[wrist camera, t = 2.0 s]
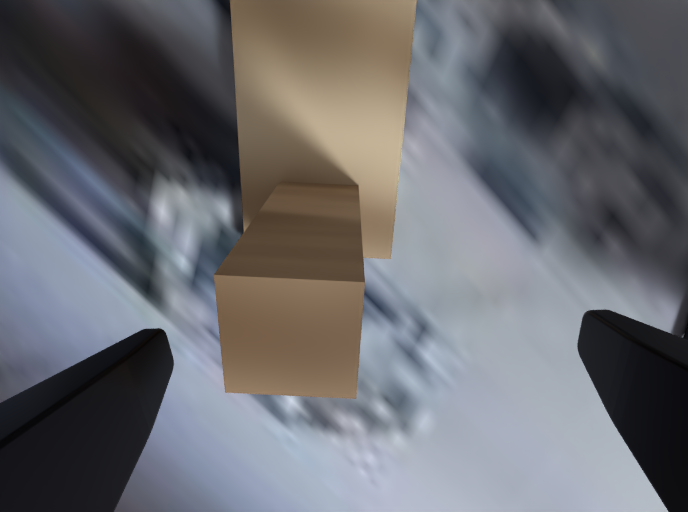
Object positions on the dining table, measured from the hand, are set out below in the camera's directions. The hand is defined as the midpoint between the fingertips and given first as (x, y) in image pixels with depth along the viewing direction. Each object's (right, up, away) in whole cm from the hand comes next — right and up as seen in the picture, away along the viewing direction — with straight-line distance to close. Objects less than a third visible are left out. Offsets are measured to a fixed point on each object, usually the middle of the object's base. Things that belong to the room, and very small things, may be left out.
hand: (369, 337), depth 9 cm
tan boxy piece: (-1, +9, +6) cm, 11 cm away
